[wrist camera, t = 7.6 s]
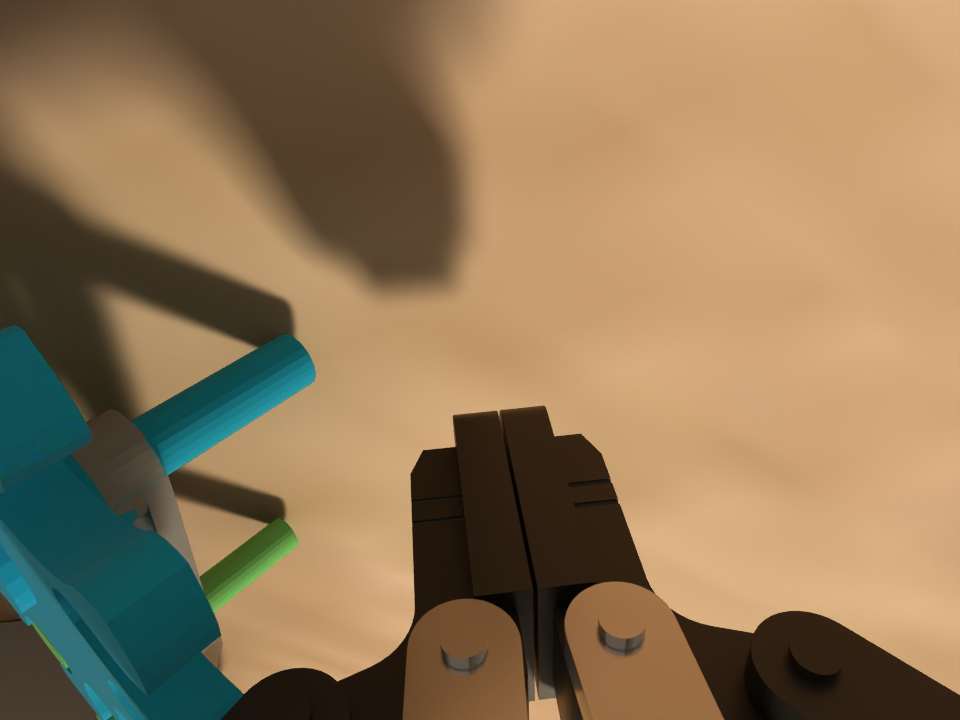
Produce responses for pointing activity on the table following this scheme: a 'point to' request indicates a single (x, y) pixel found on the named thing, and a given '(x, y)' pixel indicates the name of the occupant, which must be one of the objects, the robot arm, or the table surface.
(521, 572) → the robot arm
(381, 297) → the table surface
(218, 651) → the chassis bay
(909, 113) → the table surface
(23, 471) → the gear
